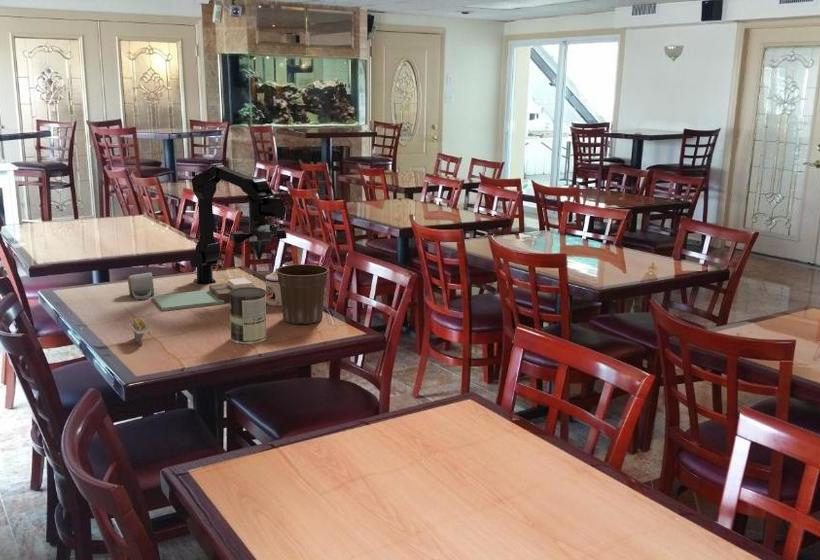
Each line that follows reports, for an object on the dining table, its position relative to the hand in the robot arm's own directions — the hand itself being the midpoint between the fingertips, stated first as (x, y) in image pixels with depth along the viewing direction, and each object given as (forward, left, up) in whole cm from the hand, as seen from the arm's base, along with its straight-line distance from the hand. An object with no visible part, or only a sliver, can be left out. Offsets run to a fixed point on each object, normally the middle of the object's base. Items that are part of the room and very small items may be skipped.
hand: (258, 259), depth 271 cm
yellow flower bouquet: (+36, -47, -13) cm, 61 cm away
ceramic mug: (-13, -37, -12) cm, 41 cm away
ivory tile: (0, -7, -9) cm, 11 cm away
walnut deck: (0, -9, -12) cm, 15 cm away
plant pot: (+36, +2, -12) cm, 38 cm away
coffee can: (+47, -19, -12) cm, 52 cm away
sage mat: (0, -25, -12) cm, 28 cm away
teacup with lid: (+16, +2, -12) cm, 20 cm away
